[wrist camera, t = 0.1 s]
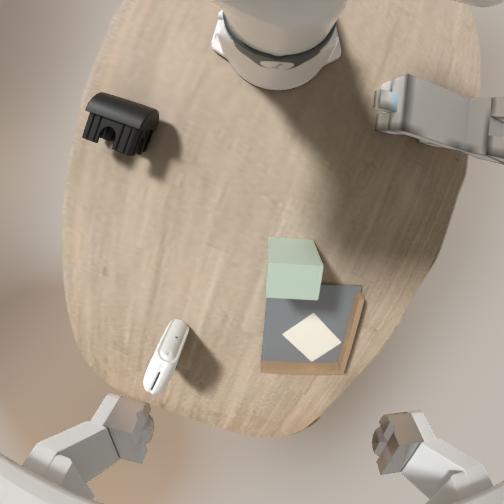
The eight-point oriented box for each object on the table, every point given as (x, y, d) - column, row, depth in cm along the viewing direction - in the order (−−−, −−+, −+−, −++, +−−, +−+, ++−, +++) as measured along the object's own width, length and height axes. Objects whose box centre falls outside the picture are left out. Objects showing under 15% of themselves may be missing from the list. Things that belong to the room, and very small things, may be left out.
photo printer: (172, 314, 54) (151, 357, 42) (193, 324, 54) (176, 369, 43) (156, 350, 57) (136, 392, 46) (175, 359, 58) (158, 403, 46)
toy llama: (365, 80, 38) (428, 50, 19) (457, 111, 38) (540, 113, 19) (360, 126, 40) (423, 124, 22) (452, 153, 40) (535, 173, 22)
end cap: (165, 111, 41) (149, 108, 35) (148, 153, 43) (130, 157, 37) (113, 94, 40) (91, 90, 34) (98, 134, 42) (75, 136, 36)
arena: (268, 280, 50) (268, 289, 47) (361, 285, 50) (365, 294, 47) (260, 362, 57) (260, 372, 54) (340, 364, 56) (343, 374, 54)
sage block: (268, 236, 47) (268, 262, 38) (313, 239, 47) (323, 266, 38) (266, 266, 49) (265, 297, 40) (309, 268, 49) (318, 300, 40)
